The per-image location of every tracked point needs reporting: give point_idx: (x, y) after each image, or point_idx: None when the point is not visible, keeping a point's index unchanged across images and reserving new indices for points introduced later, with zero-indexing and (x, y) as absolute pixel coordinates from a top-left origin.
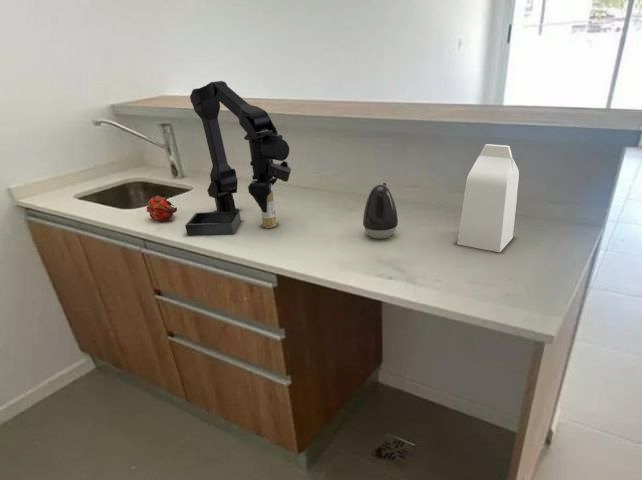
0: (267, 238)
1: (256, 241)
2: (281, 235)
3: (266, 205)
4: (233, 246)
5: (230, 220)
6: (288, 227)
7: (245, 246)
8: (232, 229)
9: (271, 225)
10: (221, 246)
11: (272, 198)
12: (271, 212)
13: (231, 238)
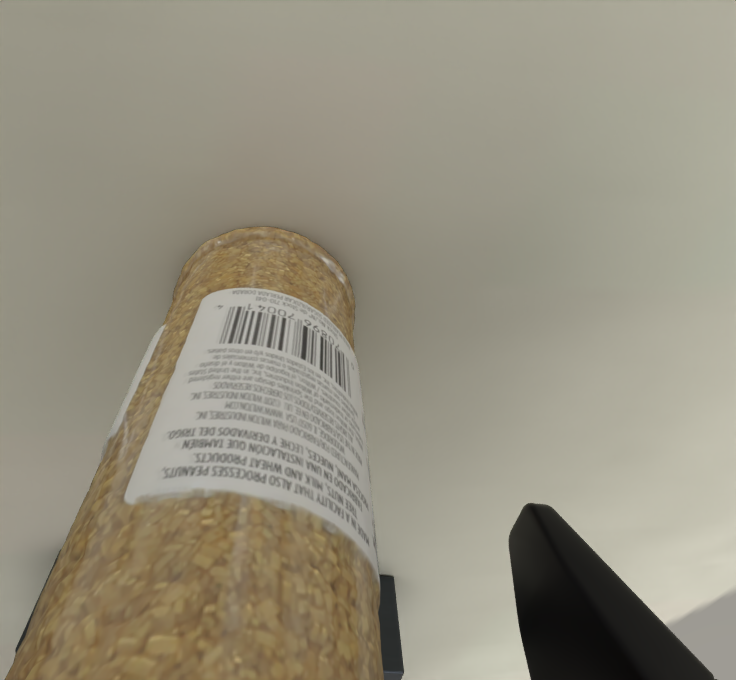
0: (649, 336)
1: (663, 425)
2: (652, 183)
3: (662, 622)
4: (659, 560)
5: None
6: (396, 55)
7: (717, 495)
8: (397, 614)
9: (349, 300)
10: None
11: (297, 570)
12: (354, 392)
13: (483, 579)
